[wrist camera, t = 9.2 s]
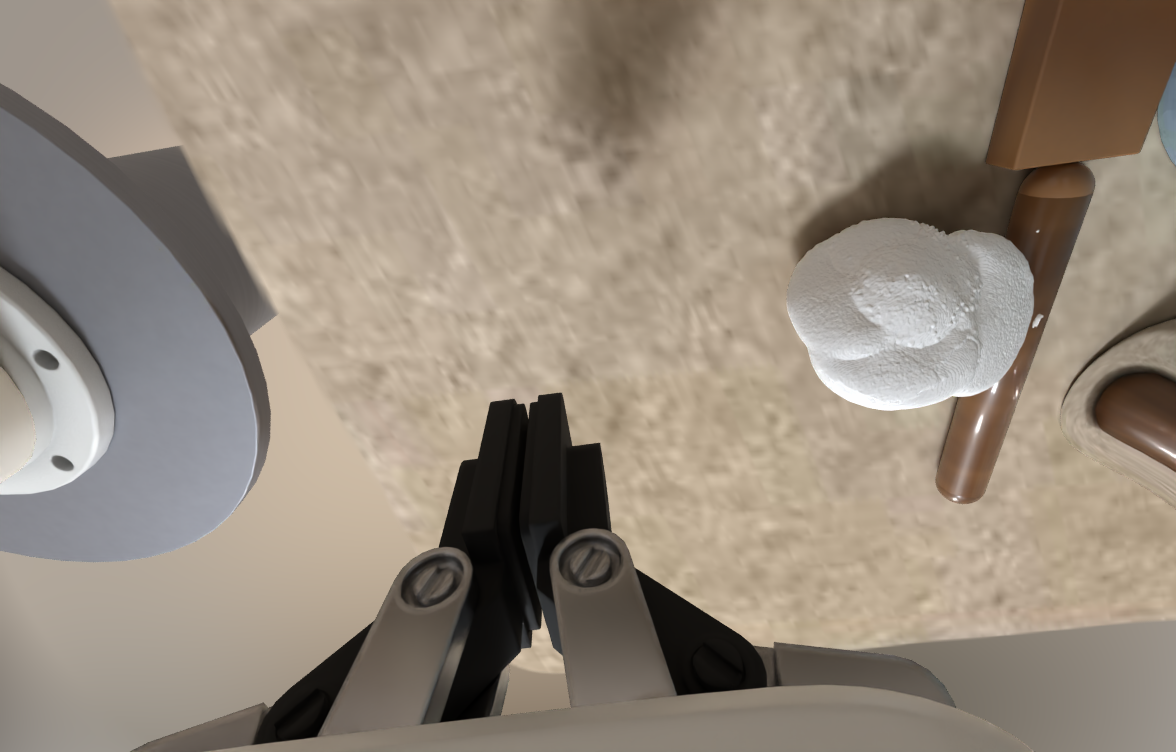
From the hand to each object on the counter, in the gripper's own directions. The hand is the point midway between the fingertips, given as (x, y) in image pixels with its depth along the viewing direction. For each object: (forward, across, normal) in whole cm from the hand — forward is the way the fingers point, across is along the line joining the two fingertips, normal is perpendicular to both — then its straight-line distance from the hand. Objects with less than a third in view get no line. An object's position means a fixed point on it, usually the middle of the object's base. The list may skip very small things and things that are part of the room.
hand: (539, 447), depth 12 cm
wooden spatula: (+6, -15, 0) cm, 16 cm away
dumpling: (+6, -11, 0) cm, 13 cm away
